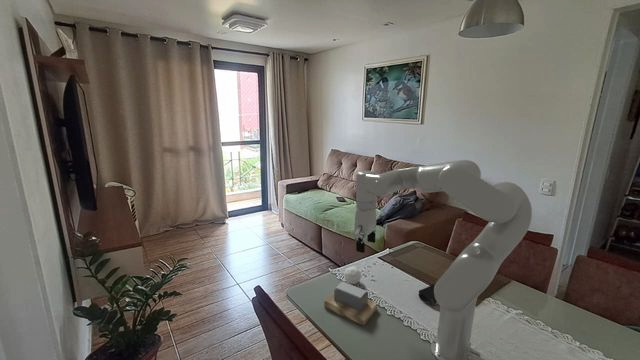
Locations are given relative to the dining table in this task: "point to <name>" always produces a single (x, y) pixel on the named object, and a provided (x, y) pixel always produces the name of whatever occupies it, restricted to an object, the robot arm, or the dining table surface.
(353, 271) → the geometric ball
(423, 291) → the black sponge
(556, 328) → the dining table surface
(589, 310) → the dining table surface
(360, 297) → the grey rectangular block
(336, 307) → the oak stand
